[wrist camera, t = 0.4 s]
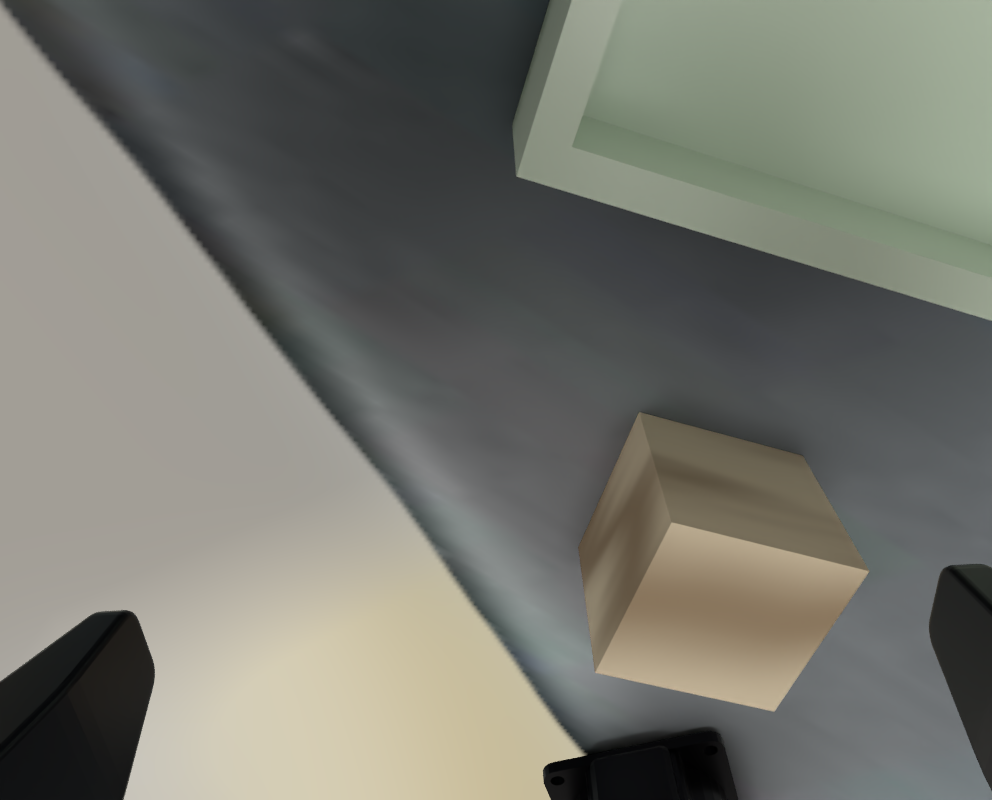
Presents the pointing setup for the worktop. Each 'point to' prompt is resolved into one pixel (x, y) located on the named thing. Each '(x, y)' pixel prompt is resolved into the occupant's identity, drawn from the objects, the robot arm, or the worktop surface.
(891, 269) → the sage bin
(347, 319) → the worktop surface
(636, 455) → the birch block
